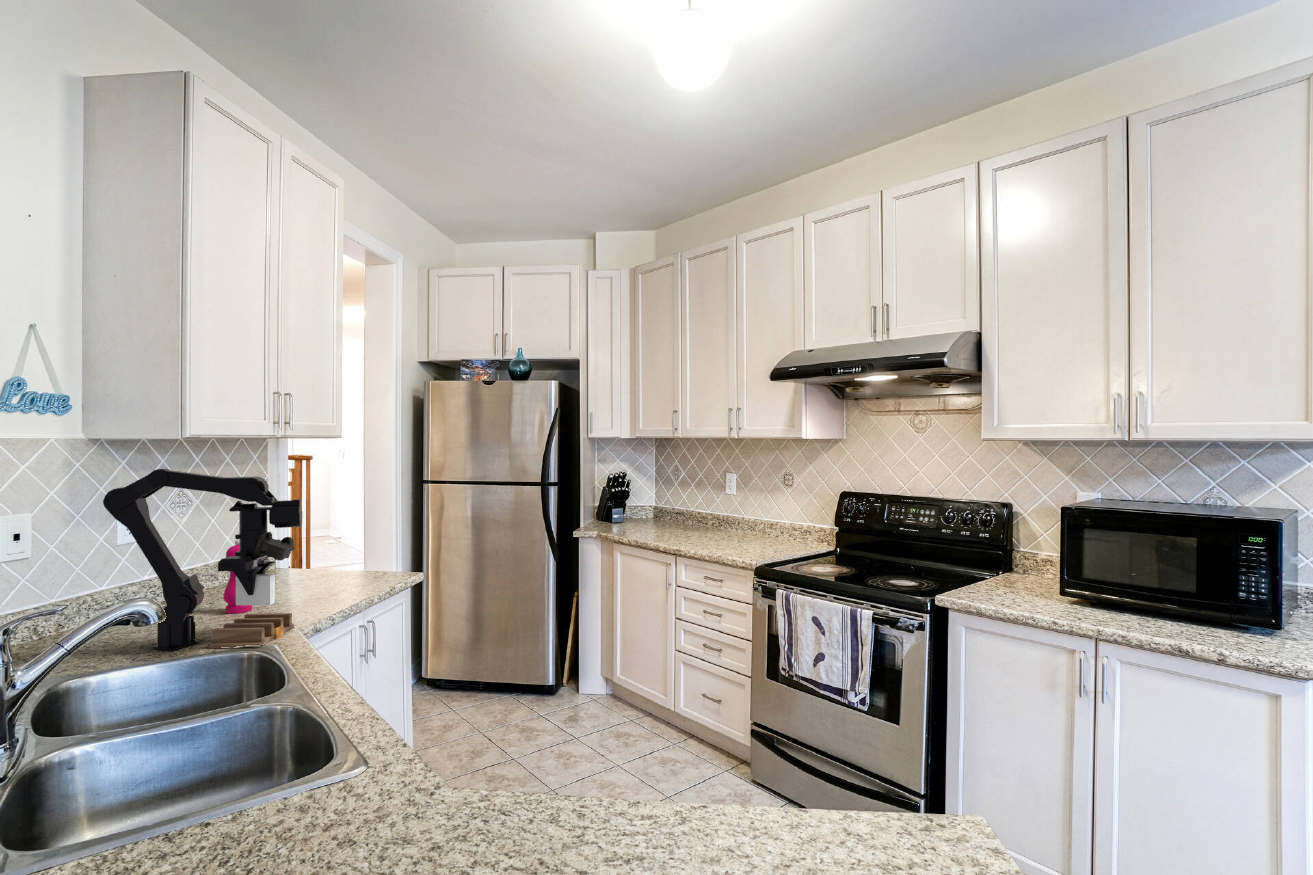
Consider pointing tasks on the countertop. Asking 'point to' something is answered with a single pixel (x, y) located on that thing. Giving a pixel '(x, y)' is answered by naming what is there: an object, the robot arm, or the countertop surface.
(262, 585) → the panel
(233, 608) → the pepper mill
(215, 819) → the countertop surface
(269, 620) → the rack
